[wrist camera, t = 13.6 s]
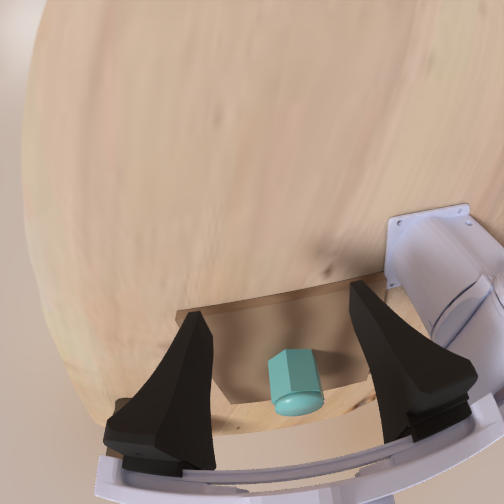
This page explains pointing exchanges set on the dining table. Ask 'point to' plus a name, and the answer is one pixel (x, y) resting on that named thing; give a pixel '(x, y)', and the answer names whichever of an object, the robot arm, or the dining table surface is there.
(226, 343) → the brown flat square slab
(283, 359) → the cap
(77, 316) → the dining table surface
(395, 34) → the dining table surface
